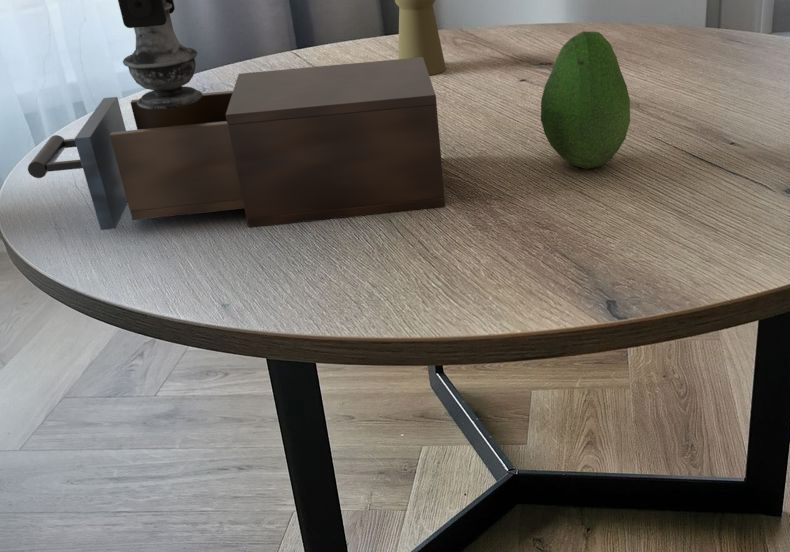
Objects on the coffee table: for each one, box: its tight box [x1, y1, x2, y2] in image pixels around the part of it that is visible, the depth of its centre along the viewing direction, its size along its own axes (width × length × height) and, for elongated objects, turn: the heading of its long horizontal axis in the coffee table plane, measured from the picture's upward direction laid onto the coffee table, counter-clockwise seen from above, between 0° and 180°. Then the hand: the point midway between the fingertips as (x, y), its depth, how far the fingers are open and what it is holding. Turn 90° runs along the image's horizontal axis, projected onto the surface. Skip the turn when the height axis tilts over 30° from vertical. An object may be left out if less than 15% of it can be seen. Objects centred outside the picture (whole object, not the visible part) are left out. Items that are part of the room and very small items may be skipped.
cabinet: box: [226, 57, 446, 228], centre depth 84 cm, size 17×13×10 cm
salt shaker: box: [122, 0, 203, 109], centre depth 77 cm, size 6×6×12 cm
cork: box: [394, 0, 447, 77], centre depth 118 cm, size 6×6×11 cm
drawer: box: [27, 90, 244, 231], centre depth 82 cm, size 20×11×8 cm, turn 99°
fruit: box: [540, 30, 631, 170], centre depth 85 cm, size 8×8×12 cm
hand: (150, 17), depth 77 cm, fingers closed on salt shaker, 3 cm apart
